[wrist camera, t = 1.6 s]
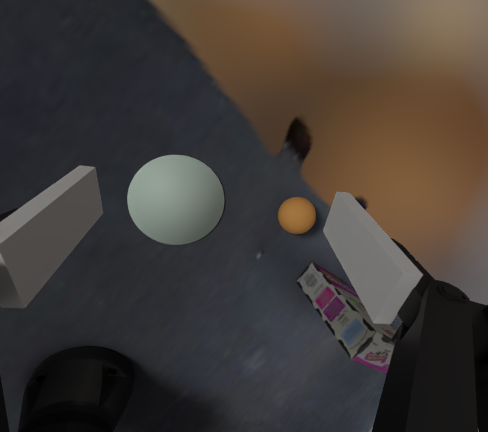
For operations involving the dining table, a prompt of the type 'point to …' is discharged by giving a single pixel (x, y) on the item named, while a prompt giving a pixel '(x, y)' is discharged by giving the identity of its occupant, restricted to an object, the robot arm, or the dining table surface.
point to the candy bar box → (348, 318)
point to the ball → (297, 215)
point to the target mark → (175, 199)
